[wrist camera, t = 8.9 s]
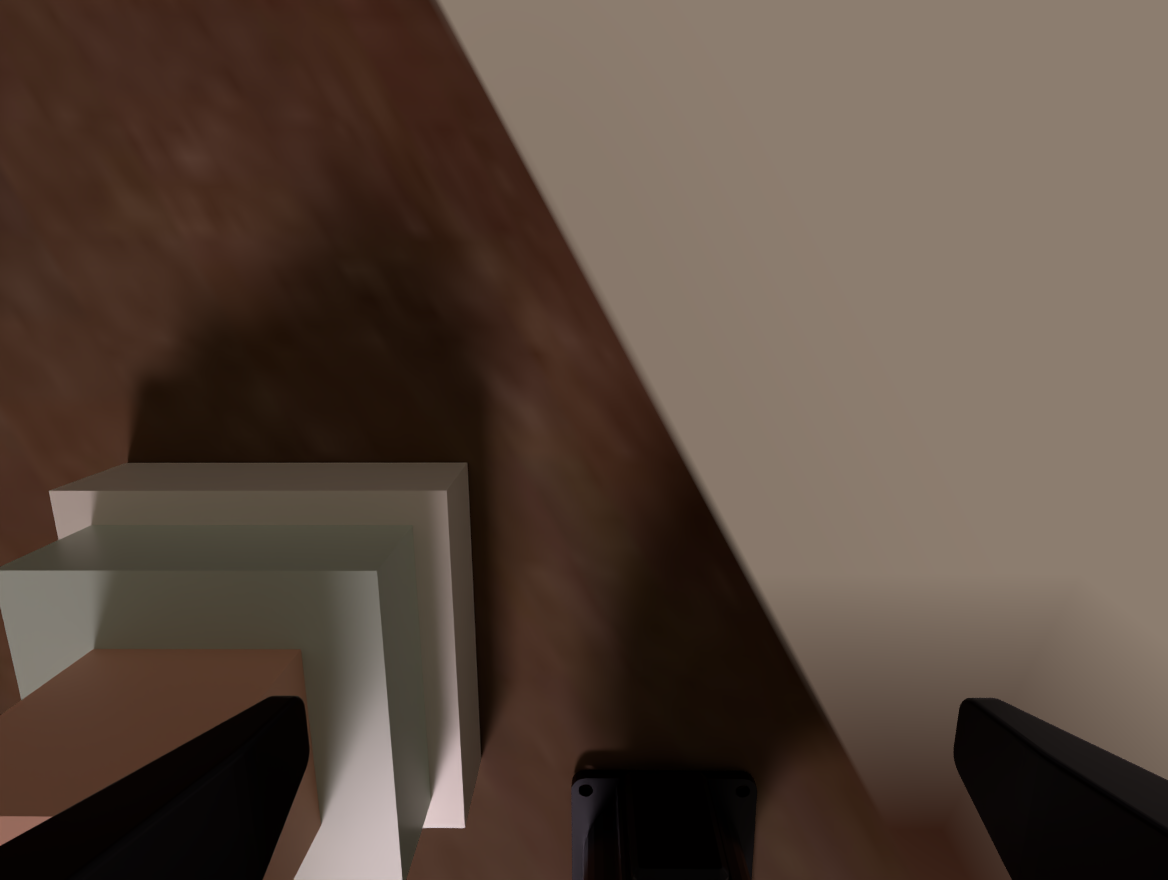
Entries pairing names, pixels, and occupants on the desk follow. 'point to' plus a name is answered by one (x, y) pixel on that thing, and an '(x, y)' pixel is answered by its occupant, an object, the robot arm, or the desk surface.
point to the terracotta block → (140, 730)
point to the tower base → (327, 504)
